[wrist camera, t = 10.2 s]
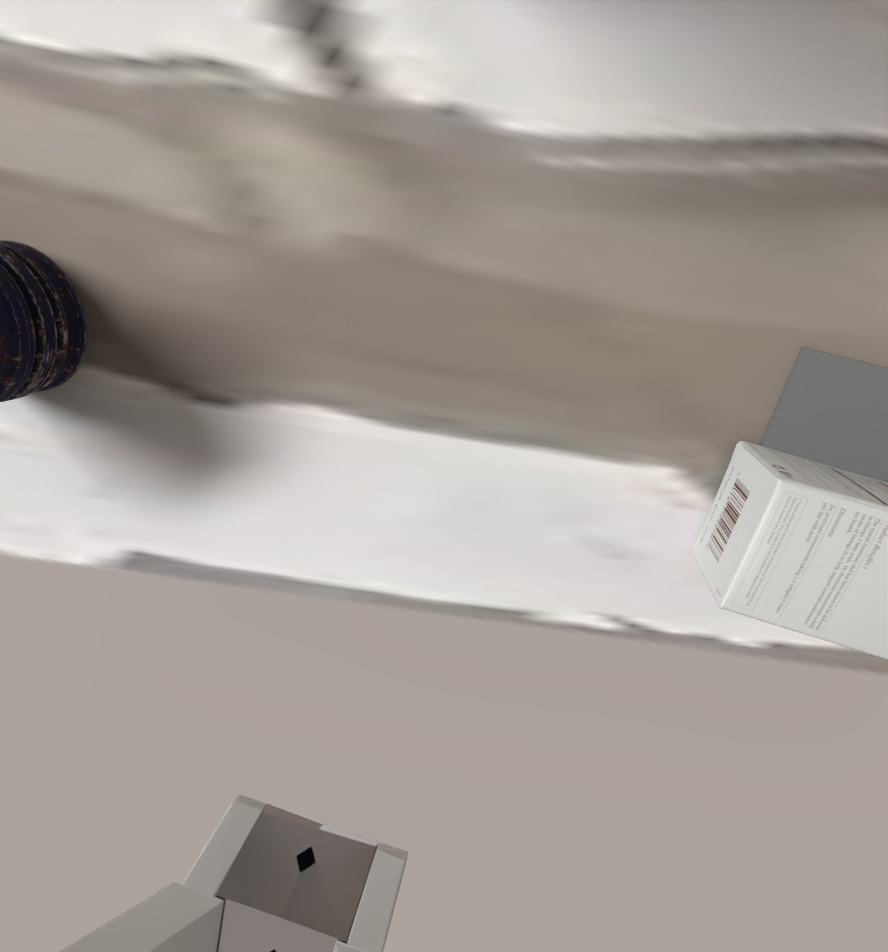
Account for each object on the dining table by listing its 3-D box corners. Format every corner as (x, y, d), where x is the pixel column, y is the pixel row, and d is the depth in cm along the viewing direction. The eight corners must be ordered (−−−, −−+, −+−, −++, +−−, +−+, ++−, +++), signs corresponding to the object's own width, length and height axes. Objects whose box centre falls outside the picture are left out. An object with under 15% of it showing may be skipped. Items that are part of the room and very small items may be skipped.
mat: (801, 347, 33) (804, 347, 32) (1075, 414, 31) (1082, 416, 31) (711, 556, 37) (712, 559, 37) (948, 623, 36) (952, 626, 36)
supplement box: (686, 549, 37) (898, 614, 36) (716, 610, 30) (981, 694, 29) (736, 435, 34) (965, 502, 33) (782, 473, 27) (1073, 559, 26)
